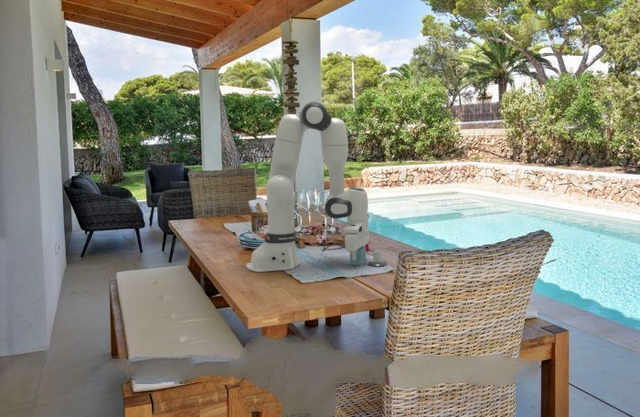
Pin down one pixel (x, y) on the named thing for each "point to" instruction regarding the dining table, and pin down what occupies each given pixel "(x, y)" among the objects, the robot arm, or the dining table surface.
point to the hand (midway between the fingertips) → (358, 257)
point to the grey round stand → (377, 260)
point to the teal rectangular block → (359, 257)
